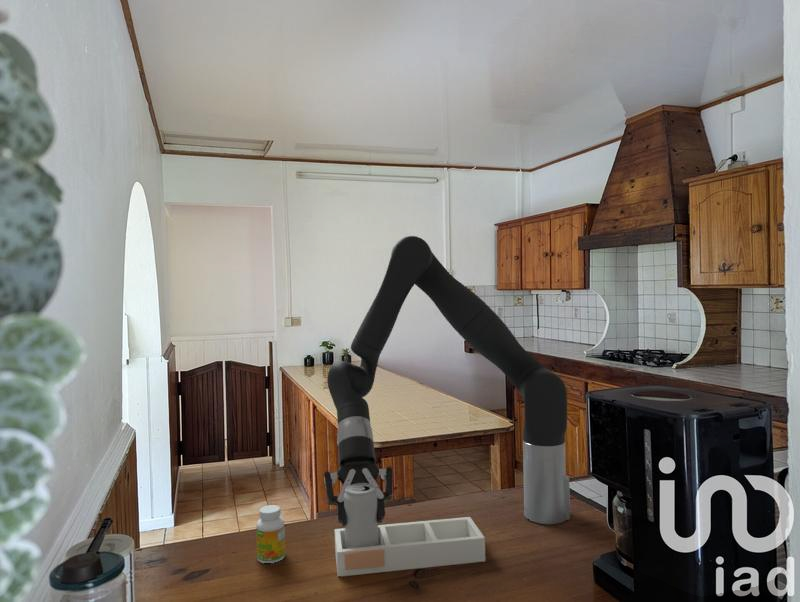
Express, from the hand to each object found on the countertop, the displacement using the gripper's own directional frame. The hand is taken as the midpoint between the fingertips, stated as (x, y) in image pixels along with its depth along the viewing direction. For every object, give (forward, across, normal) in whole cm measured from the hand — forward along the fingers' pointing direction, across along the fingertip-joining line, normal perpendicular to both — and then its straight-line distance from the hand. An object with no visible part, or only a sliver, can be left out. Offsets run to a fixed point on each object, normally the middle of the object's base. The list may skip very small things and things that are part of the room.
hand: (362, 522), depth 106 cm
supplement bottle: (+1, -18, +10) cm, 21 cm away
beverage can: (+3, 0, +6) cm, 6 cm away
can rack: (+5, +9, +7) cm, 12 cm away
